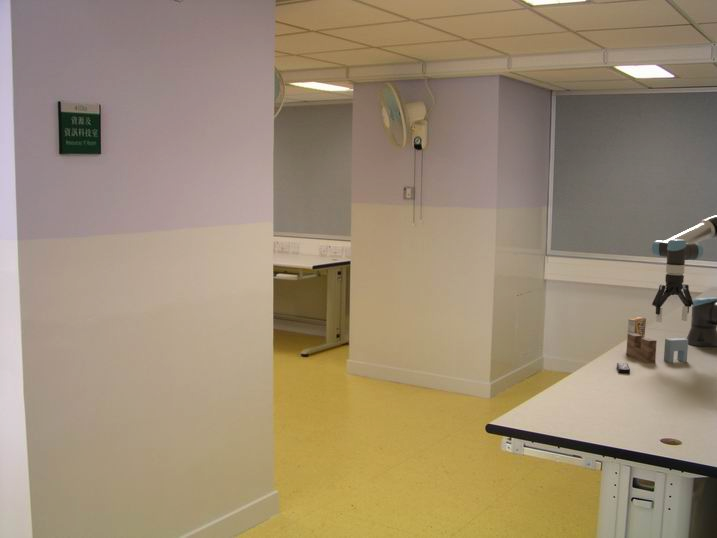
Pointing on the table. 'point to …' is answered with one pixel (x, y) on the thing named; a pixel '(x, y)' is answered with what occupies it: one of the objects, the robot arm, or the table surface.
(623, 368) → the multiport hub
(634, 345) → the walnut notched block
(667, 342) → the grey slotted block
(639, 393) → the table surface
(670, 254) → the robot arm
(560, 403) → the table surface
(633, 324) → the candy box
